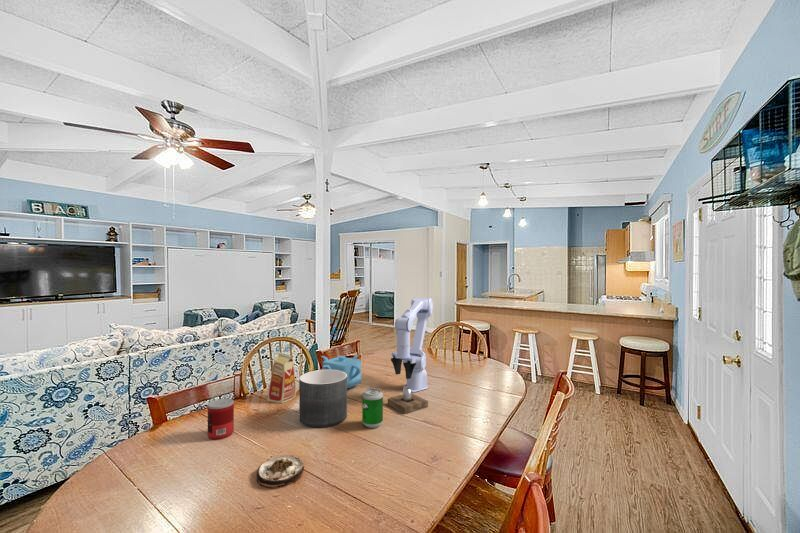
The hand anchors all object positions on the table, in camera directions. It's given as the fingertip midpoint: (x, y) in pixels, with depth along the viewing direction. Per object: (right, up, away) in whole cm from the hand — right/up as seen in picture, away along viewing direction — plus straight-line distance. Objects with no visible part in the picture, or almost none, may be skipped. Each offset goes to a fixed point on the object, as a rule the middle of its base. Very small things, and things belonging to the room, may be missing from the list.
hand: (403, 376), depth 153 cm
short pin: (-14, -10, +1) cm, 17 cm away
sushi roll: (-34, -10, -56) cm, 66 cm away
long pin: (+2, -10, -7) cm, 13 cm away
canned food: (-63, -10, -33) cm, 72 cm away
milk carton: (-52, -10, 0) cm, 53 cm away
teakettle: (-30, -10, +15) cm, 35 cm away
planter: (-31, -10, -19) cm, 37 cm away
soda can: (-11, -10, -25) cm, 29 cm away
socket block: (+2, -10, -7) cm, 12 cm away
